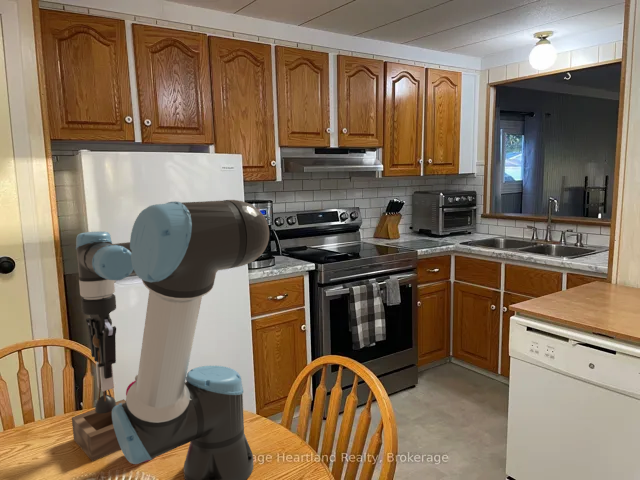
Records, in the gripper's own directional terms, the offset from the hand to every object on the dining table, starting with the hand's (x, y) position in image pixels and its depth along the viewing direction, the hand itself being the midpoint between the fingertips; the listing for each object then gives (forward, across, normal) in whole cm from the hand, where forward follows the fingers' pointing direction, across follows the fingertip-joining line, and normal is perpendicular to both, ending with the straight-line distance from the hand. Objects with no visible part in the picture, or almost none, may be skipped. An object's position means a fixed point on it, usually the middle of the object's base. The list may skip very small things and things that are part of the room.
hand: (105, 387), depth 113 cm
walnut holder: (+14, 0, 0) cm, 14 cm away
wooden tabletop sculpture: (+6, 0, 0) cm, 6 cm away
